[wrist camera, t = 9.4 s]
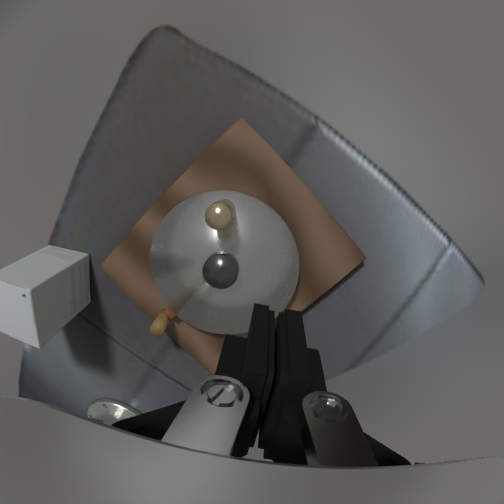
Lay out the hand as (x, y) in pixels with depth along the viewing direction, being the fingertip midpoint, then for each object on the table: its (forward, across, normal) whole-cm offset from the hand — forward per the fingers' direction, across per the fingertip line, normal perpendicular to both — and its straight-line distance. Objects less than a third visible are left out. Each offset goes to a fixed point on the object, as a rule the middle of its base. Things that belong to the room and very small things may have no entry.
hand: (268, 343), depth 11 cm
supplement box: (+25, +25, +12) cm, 38 cm away
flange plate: (+23, +4, +6) cm, 24 cm away
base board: (+25, +4, +6) cm, 26 cm away
